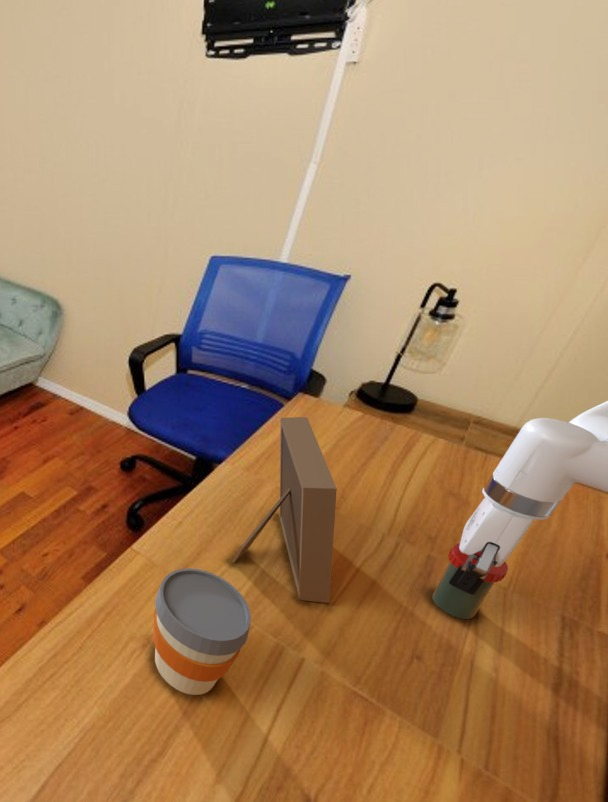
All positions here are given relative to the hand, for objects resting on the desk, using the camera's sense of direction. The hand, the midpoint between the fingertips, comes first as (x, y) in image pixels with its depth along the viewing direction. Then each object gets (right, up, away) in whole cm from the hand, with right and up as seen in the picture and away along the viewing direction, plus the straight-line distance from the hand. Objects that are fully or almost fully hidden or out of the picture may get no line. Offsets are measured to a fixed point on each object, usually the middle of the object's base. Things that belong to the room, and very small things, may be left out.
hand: (464, 575), depth 85 cm
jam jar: (+1, -6, +3) cm, 7 cm away
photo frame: (-24, -1, +14) cm, 28 cm away
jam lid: (0, +3, -2) cm, 4 cm away
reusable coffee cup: (-50, -12, -6) cm, 51 cm away
